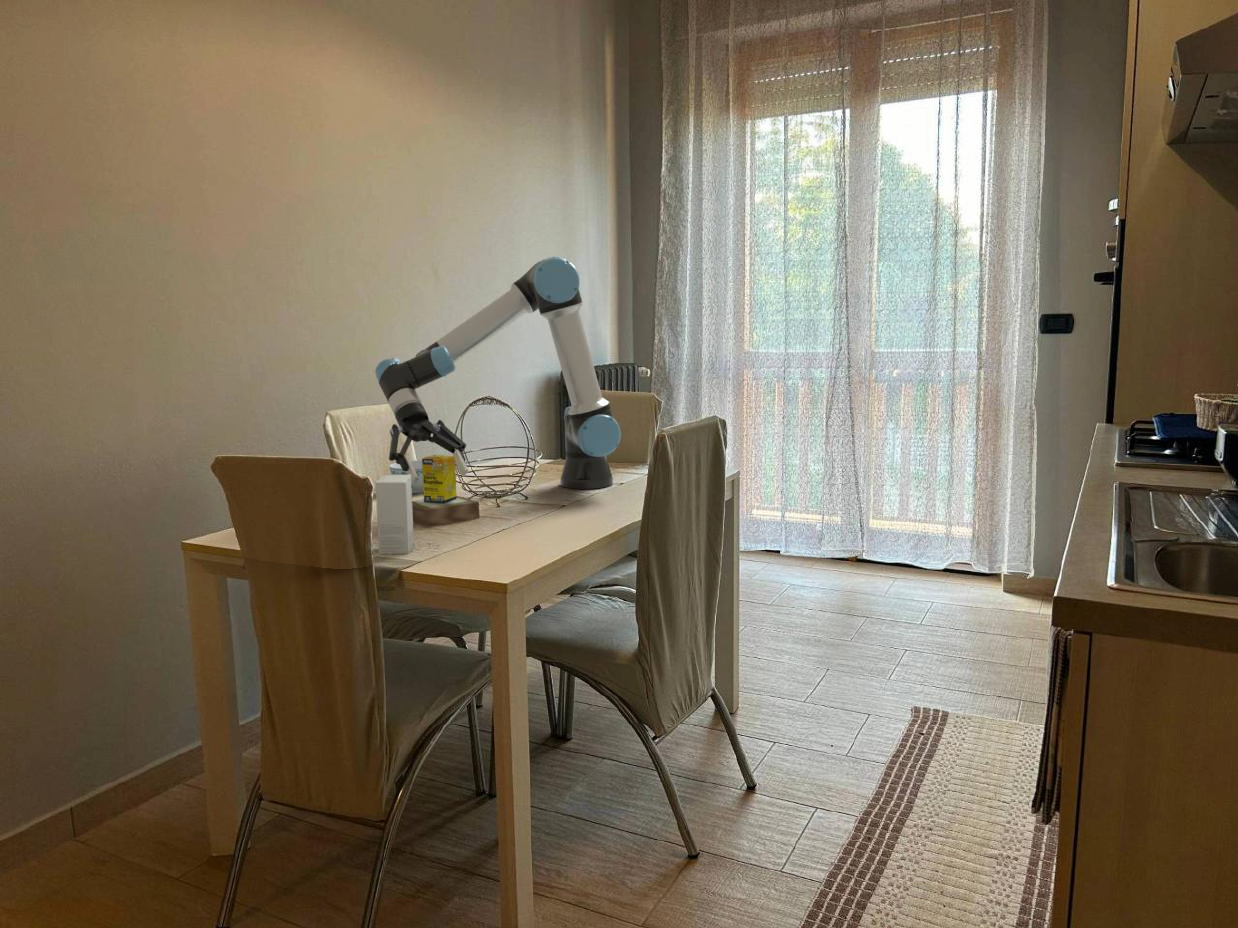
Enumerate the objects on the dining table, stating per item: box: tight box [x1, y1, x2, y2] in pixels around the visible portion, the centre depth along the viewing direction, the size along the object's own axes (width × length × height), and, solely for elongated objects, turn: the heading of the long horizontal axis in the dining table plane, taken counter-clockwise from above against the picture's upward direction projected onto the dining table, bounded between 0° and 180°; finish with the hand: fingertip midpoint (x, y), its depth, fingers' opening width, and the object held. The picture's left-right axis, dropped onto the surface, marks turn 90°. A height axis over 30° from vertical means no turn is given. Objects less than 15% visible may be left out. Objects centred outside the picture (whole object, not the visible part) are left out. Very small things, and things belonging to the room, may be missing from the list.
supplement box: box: [421, 454, 458, 503], centre depth 224 cm, size 6×6×11 cm
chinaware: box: [388, 459, 424, 494], centre depth 262 cm, size 15×15×8 cm
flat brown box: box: [412, 495, 480, 528], centre depth 225 cm, size 14×13×4 cm
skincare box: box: [375, 474, 415, 556], centre depth 194 cm, size 8×7×16 cm
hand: (440, 476), depth 223 cm, fingers open, 13 cm apart
